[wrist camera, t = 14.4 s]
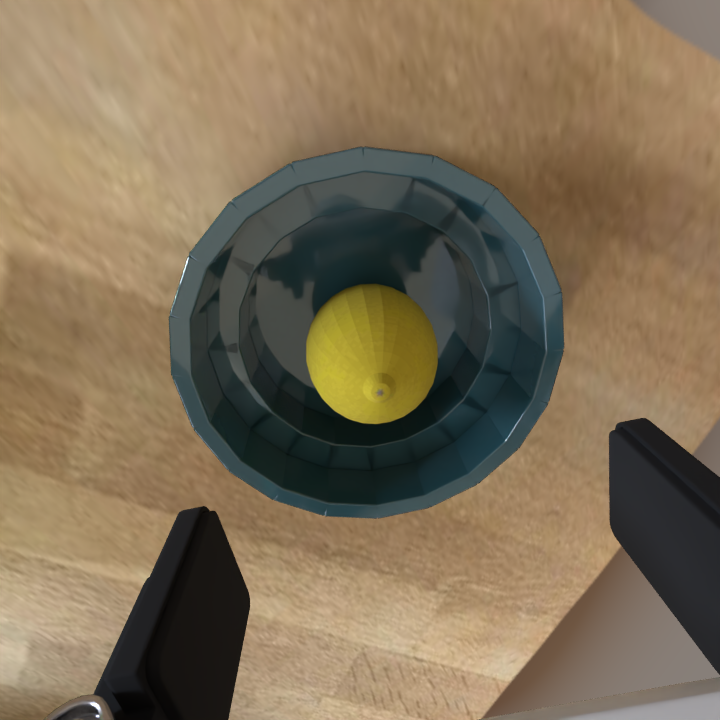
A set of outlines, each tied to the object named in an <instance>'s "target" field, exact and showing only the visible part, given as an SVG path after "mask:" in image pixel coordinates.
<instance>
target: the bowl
mask: <svg viewBox="0 0 720 720" xmlns="http://www.w3.org/2000/svg"><path fill="white" fill-rule="evenodd" d="M360 284H380V285H384V286H389V287H392V288H394V289H396V290H398V291H400V292H402V293H404V294H406V295H408V296H409V297H410V298H411V299H412V300H413V301H414V302H415V303H416V304H418V305H419V306H420V307H421V309H422V310H423V312H424V313H425V315H426V316H427V318H428V319H429V321H430V323H431V325H432V328H433V331H434V334H435V337H436V341H437V348H438V366H437V370H436V374H435V378H434V382H433V385H432V386H431V388H430V390H429V392H428V394H427V396H426V397H425V399H424V400H423V401H422V402H421V403H420V404H419V405H418V406H417V407H416V408H415V409H414V410H413V411H411V412H410V413H408V414H407V415H405V416H404V417H401V418H399V419H396V420H394V421H391V422H386V423H380V424H368V423H360V422H356V421H353V420H350V419H347V418H346V417H344V416H342V415H341V414H339V413H337V412H336V411H334V410H333V409H332V408H331V407H330V406H329V405H328V404H327V403H326V402H325V401H324V400H323V399H322V398H321V396H320V394H319V393H318V391H317V389H316V388H315V386H314V384H313V382H312V380H311V377H310V373H309V370H308V366H307V362H306V341H307V337H308V333H309V330H310V326H311V323H312V321H313V319H314V318H315V316H316V314H317V313H318V311H319V309H320V308H321V307H322V306H323V305H324V304H325V303H326V302H327V301H328V300H329V299H330V298H331V297H332V296H334V295H335V294H337V293H339V292H340V291H342V290H344V289H346V288H349V287H353V286H356V285H360ZM169 334H170V358H171V375H172V378H173V380H174V383H175V385H176V388H177V390H178V393H179V395H180V398H181V400H182V403H183V405H184V408H185V410H186V413H187V415H188V418H189V420H190V423H191V425H192V427H193V428H194V431H195V432H196V433H197V434H198V435H199V437H200V438H201V439H202V440H203V441H204V443H205V444H206V445H207V446H208V447H209V448H210V450H211V451H212V452H213V453H214V454H215V456H216V457H217V458H218V459H219V460H220V462H221V463H222V464H223V465H224V466H225V467H226V469H227V470H229V472H230V473H232V474H233V475H235V476H237V477H238V478H240V479H241V480H243V481H244V482H246V483H247V484H249V485H250V486H252V487H254V488H255V489H257V490H258V491H260V492H261V493H263V494H264V495H266V496H267V497H269V498H270V499H272V500H275V501H278V502H281V503H284V504H287V505H290V506H294V507H297V508H300V509H303V510H306V511H310V512H313V513H316V514H319V515H322V516H324V515H325V516H329V517H352V518H374V519H376V518H383V517H388V516H393V515H398V514H403V513H407V512H412V511H417V510H422V509H427V508H429V507H432V506H434V505H436V504H438V503H440V502H442V501H445V500H447V499H449V498H451V497H453V496H455V495H457V494H459V493H461V492H463V491H465V490H467V489H469V488H471V487H473V486H475V485H477V483H480V482H481V481H482V480H483V479H484V478H486V477H487V476H488V475H489V474H490V473H491V472H493V471H494V470H495V469H496V468H497V467H498V466H499V465H501V464H502V463H503V462H504V461H505V460H506V459H508V458H509V457H510V456H511V455H512V454H513V453H514V452H516V451H517V450H518V448H520V446H521V445H522V443H523V442H524V440H525V439H526V437H527V436H528V434H529V432H530V431H531V429H532V428H533V426H534V425H535V423H536V422H537V420H538V419H539V417H540V416H541V414H542V413H543V411H544V410H545V408H546V407H547V405H548V402H549V400H550V396H551V393H552V389H553V386H554V383H555V379H556V376H557V372H558V369H559V366H560V362H561V359H562V355H563V352H564V350H563V349H564V327H563V300H562V292H561V287H560V285H559V282H558V280H557V277H556V275H555V272H554V270H553V267H552V265H551V262H550V260H549V257H548V255H547V252H546V250H545V247H544V245H543V242H542V240H541V237H540V236H539V233H538V232H537V231H536V230H535V229H534V228H533V227H532V226H531V225H530V223H529V222H528V221H527V220H526V219H525V218H524V217H523V216H522V215H521V214H520V212H519V211H518V210H517V209H516V208H515V207H514V206H513V205H512V204H511V203H510V201H509V200H508V199H507V198H506V197H505V196H504V195H503V194H502V193H501V192H500V191H499V189H498V188H496V187H495V186H494V185H492V184H490V183H488V182H486V181H484V180H482V179H480V178H478V177H476V176H474V175H472V174H470V173H468V172H467V171H465V170H463V169H461V168H459V167H457V166H455V165H453V164H451V163H449V162H447V161H445V160H443V159H441V158H439V157H437V156H433V155H430V154H422V153H414V152H406V151H398V150H390V149H382V148H374V147H366V146H365V147H357V148H352V149H348V150H343V151H339V152H334V153H330V154H325V155H321V156H316V157H312V158H308V159H303V160H299V161H294V162H292V163H290V164H287V165H286V166H284V167H283V168H281V169H280V170H278V171H276V172H275V173H273V174H272V175H270V176H268V177H267V178H265V179H264V180H262V181H261V182H259V183H257V184H256V185H254V186H253V187H251V188H249V189H248V190H246V191H245V192H243V193H242V194H240V195H238V196H237V197H235V198H234V199H232V201H230V202H229V203H228V204H227V205H226V207H225V208H224V209H223V211H222V212H221V213H220V214H219V216H218V217H217V218H216V220H215V221H214V222H213V223H212V225H211V226H210V227H209V229H208V230H207V231H206V232H205V234H204V235H203V236H202V238H201V239H200V240H199V241H198V243H197V244H196V245H195V247H194V248H193V249H192V250H191V252H190V253H189V256H188V258H187V261H186V264H185V267H184V270H183V273H182V276H181V280H180V283H179V286H178V289H177V292H176V295H175V298H174V301H173V305H172V308H171V311H170V316H169Z"/></svg>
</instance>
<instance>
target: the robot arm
mask: <svg viewBox="0 0 720 720" xmlns="http://www.w3.org/2000/svg"><path fill="white" fill-rule="evenodd" d="M609 495H610V526H611V529H612V532H613V534H614V536H615V537H616V539H617V540H618V541H619V543H620V544H621V545H622V547H623V548H624V549H625V551H626V552H627V553H628V555H629V556H630V557H631V559H632V560H633V561H634V563H635V564H636V565H637V567H638V568H639V569H640V571H641V572H642V573H643V574H644V576H645V577H646V579H647V580H648V581H649V582H650V584H651V585H652V586H653V588H654V589H655V590H656V592H657V593H658V594H659V596H660V597H661V598H662V600H663V601H664V602H665V604H666V605H667V606H668V608H669V609H670V610H671V612H672V613H673V614H674V616H675V617H676V618H677V619H678V621H679V622H680V623H681V625H682V626H683V627H684V629H685V630H686V631H687V633H688V634H689V635H690V637H691V638H692V639H693V641H694V642H695V643H696V645H697V646H698V647H699V649H700V650H701V651H702V653H703V654H704V655H705V657H706V658H707V659H708V661H709V662H710V663H711V665H712V666H713V667H714V668H715V670H716V671H717V672H718V673H719V674H720V477H718V476H717V475H716V474H715V473H713V472H712V471H711V470H710V469H708V468H707V467H706V466H705V465H704V464H702V463H701V462H700V461H699V460H697V459H696V458H695V457H694V456H692V455H691V454H690V453H689V452H687V451H686V450H685V449H684V448H683V447H681V446H680V445H679V444H678V443H676V442H675V441H674V440H673V439H671V438H670V437H669V436H668V435H666V434H665V433H664V432H663V431H662V430H660V429H659V428H658V427H657V426H655V425H654V424H653V423H652V422H650V421H649V420H648V419H646V418H640V419H635V420H630V421H625V422H620V423H618V424H617V425H616V428H615V430H613V431H611V432H610V434H609ZM249 610H250V597H249V592H248V589H247V587H246V584H245V582H244V579H243V577H242V574H241V572H240V569H239V567H238V564H237V562H236V559H235V557H234V554H233V552H232V550H231V547H230V545H229V542H228V540H227V537H226V535H225V532H224V530H223V527H222V525H221V522H220V520H219V517H218V515H217V513H216V512H215V511H209V509H208V508H207V507H205V506H203V507H198V508H193V509H188V510H183V511H181V512H179V514H178V516H177V518H176V520H175V522H174V524H173V527H172V529H171V531H170V533H169V536H168V538H167V540H166V542H165V544H164V547H163V549H162V551H161V553H160V555H159V558H158V560H157V562H156V564H155V567H154V569H153V571H152V573H151V575H150V577H149V578H148V579H147V580H146V582H145V583H144V585H143V587H142V589H141V591H140V594H139V596H138V598H137V600H136V602H135V605H134V607H133V609H132V611H131V613H130V615H129V618H128V620H127V622H126V624H125V626H124V629H123V631H122V633H121V635H120V637H119V639H118V642H117V644H116V646H115V648H114V650H113V653H112V655H111V657H110V659H109V661H108V663H107V666H106V668H105V670H104V672H103V674H102V677H101V679H100V681H99V683H98V685H97V687H96V690H95V692H94V694H93V695H84V696H80V697H77V698H75V699H72V700H70V701H68V702H66V703H65V704H63V705H61V706H60V707H58V708H57V709H55V710H54V711H53V712H52V713H51V714H49V715H48V716H47V717H46V718H45V719H44V720H228V718H229V713H230V708H231V703H232V698H233V692H234V687H235V682H236V677H237V672H238V667H239V661H240V656H241V651H242V646H243V641H244V636H245V630H246V625H247V620H248V615H249ZM479 720H720V677H719V678H712V679H706V680H700V681H693V682H687V683H681V684H675V685H669V686H664V687H658V688H652V689H647V690H642V691H636V692H631V693H624V694H619V695H613V696H607V697H602V698H596V699H590V700H584V701H579V702H573V703H568V704H562V705H557V706H551V707H545V708H540V709H534V710H528V711H523V712H518V713H512V714H507V715H501V716H496V717H490V718H484V719H479Z"/></svg>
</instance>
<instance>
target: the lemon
mask: <svg viewBox="0 0 720 720" xmlns="http://www.w3.org/2000/svg"><path fill="white" fill-rule="evenodd" d="M306 362H307V366H308V370H309V373H310V377H311V380H312V382H313V384H314V386H315V388H316V389H317V391H318V393H319V394H320V396H321V398H322V399H323V400H324V401H325V402H326V403H327V404H328V405H329V406H330V407H331V408H332V409H333V410H334V411H336V412H337V413H339V414H341V415H342V416H344V417H346V418H347V419H350V420H353V421H356V422H360V423H368V424H380V423H386V422H391V421H394V420H396V419H399V418H401V417H404V416H405V415H407V414H408V413H410V412H411V411H413V410H414V409H415V408H416V407H417V406H418V405H419V404H420V403H421V402H422V401H423V400H424V399H425V397H426V396H427V394H428V392H429V390H430V388H431V386H432V385H433V382H434V378H435V374H436V370H437V366H438V348H437V341H436V337H435V334H434V331H433V328H432V325H431V323H430V321H429V319H428V318H427V316H426V315H425V313H424V312H423V310H422V309H421V307H420V306H419V305H418V304H416V303H415V302H414V301H413V300H412V299H411V298H410V297H409V296H408V295H406V294H404V293H402V292H400V291H398V290H396V289H394V288H392V287H389V286H384V285H380V284H360V285H356V286H353V287H349V288H346V289H344V290H342V291H340V292H339V293H337V294H335V295H334V296H332V297H331V298H330V299H329V300H328V301H327V302H326V303H325V304H324V305H323V306H322V307H321V308H320V309H319V311H318V313H317V314H316V316H315V318H314V319H313V321H312V323H311V326H310V330H309V333H308V337H307V341H306Z"/></svg>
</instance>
